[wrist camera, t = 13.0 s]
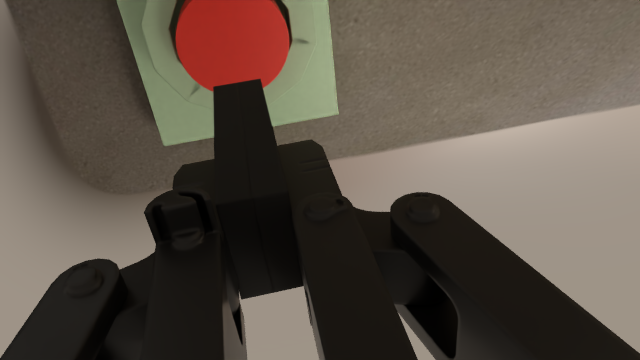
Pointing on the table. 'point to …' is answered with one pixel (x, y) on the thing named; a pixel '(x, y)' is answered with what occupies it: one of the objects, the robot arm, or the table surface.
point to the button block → (197, 102)
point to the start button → (231, 41)
